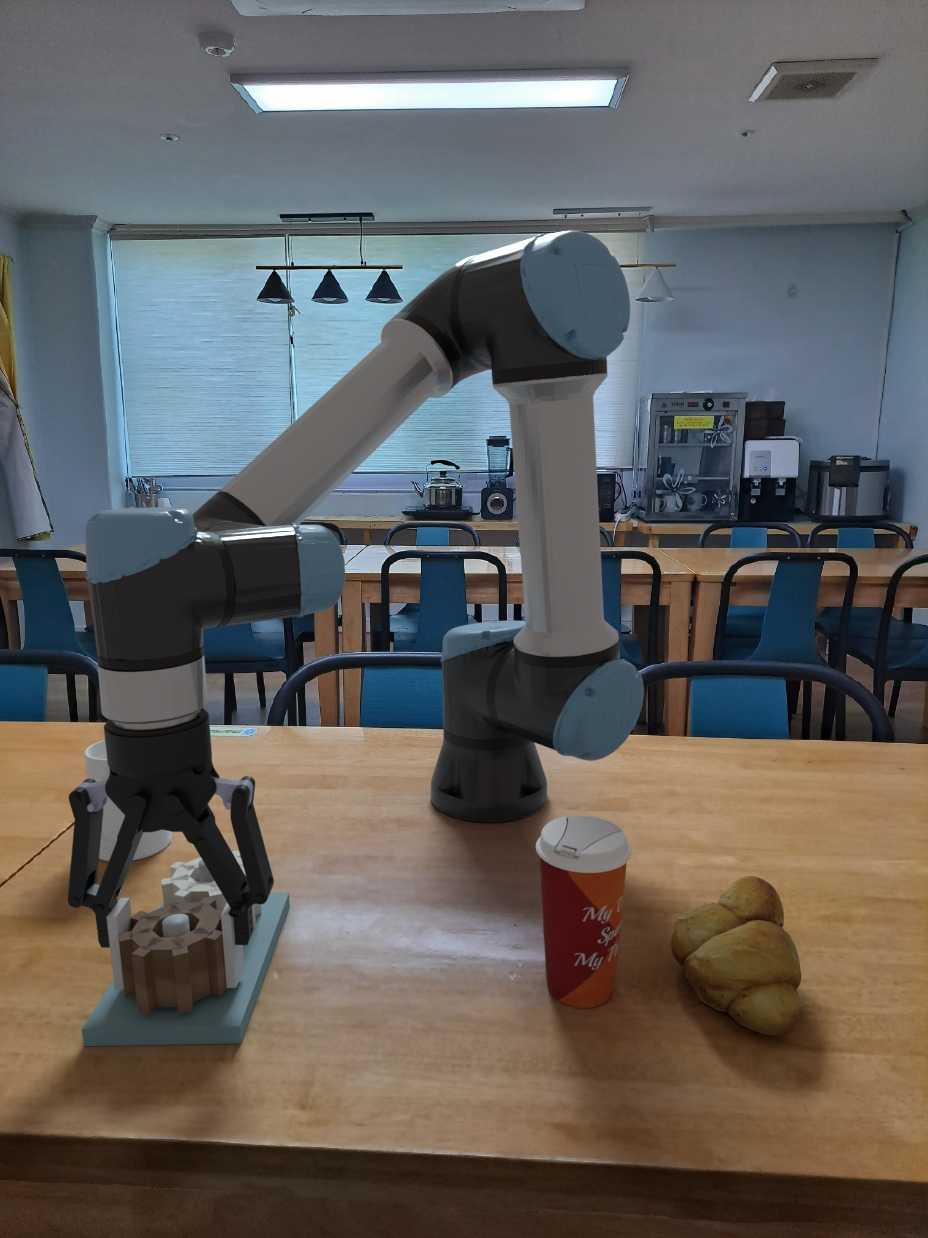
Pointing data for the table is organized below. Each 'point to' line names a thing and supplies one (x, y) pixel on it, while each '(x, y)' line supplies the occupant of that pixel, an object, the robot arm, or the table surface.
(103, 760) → the mug
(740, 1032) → the table surface
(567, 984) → the paper cup
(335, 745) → the table surface
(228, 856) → the robot arm
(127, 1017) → the gear board
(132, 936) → the walnut gear
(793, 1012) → the bread roll
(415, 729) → the table surface
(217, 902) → the cream gear
